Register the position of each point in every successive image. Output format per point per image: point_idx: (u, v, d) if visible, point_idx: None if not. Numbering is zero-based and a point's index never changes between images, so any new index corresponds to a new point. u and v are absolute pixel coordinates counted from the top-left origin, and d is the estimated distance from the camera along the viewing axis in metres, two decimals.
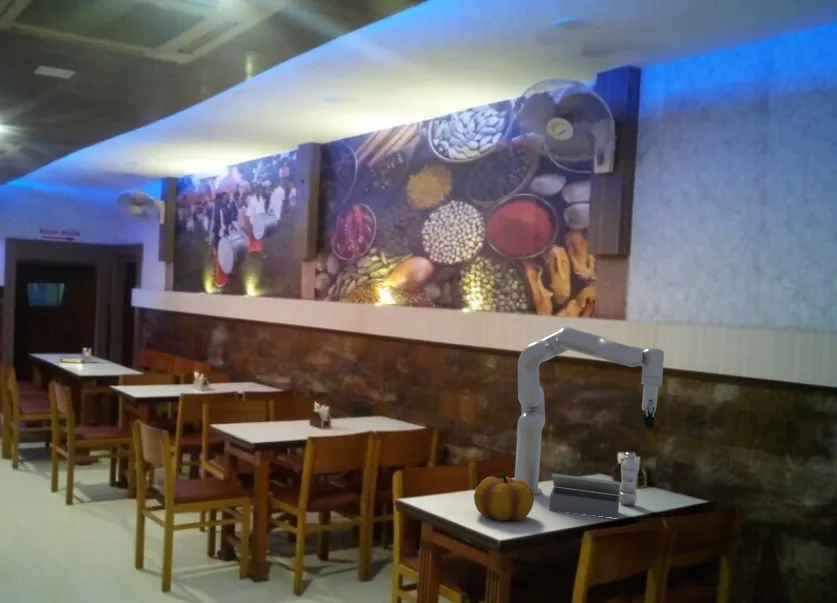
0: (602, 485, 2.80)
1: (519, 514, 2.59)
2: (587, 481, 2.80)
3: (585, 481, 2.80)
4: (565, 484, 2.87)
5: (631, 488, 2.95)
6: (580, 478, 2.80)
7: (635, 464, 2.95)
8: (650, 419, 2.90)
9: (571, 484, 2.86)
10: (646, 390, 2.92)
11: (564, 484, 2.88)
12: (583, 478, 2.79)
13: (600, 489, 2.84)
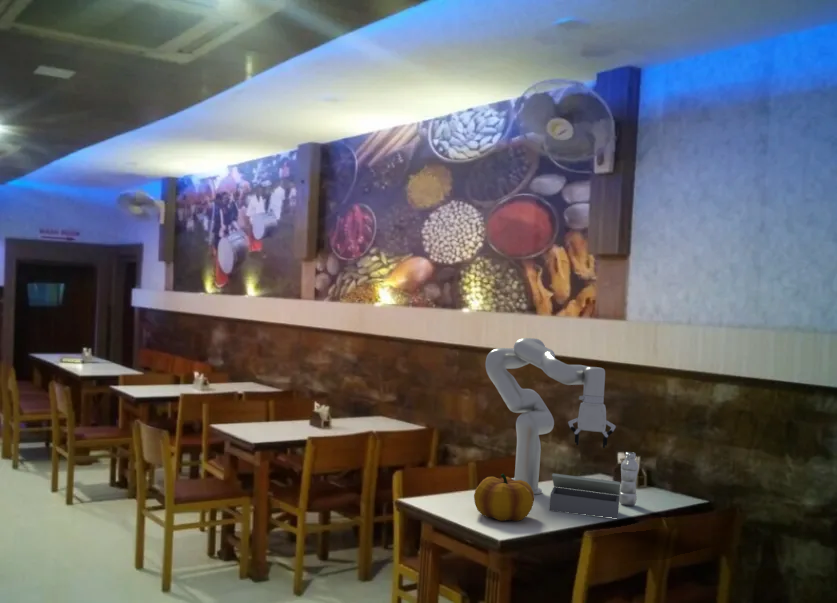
0: (602, 485, 2.80)
1: (519, 514, 2.59)
2: (587, 481, 2.80)
3: (585, 481, 2.80)
4: (565, 484, 2.87)
5: (631, 488, 2.95)
6: (580, 478, 2.80)
7: (635, 464, 2.95)
8: None
9: (571, 484, 2.86)
10: (605, 410, 2.87)
11: (564, 484, 2.88)
12: (583, 478, 2.79)
13: (600, 489, 2.84)
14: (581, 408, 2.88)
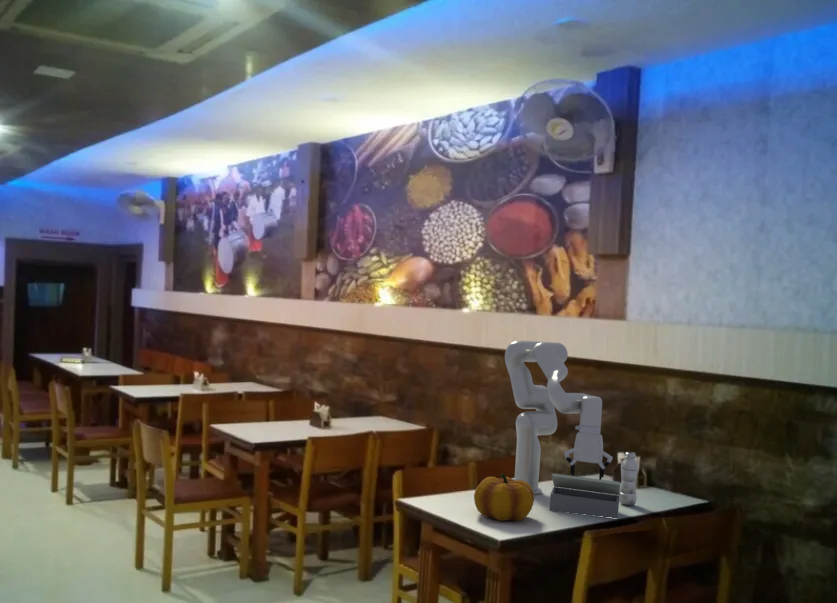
0: (602, 485, 2.80)
1: (519, 514, 2.59)
2: (587, 481, 2.80)
3: (585, 481, 2.80)
4: (565, 484, 2.87)
5: (631, 488, 2.95)
6: (580, 478, 2.80)
7: (635, 464, 2.95)
8: (603, 470, 2.80)
9: (571, 484, 2.86)
10: (601, 441, 2.78)
11: (564, 484, 2.88)
12: (583, 478, 2.79)
13: (600, 489, 2.84)
14: (577, 438, 2.80)
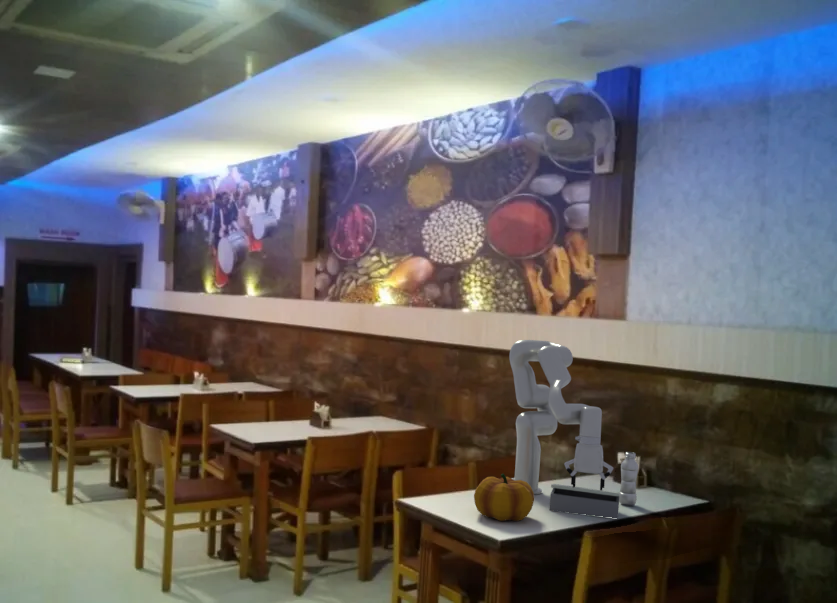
0: None
1: (519, 514, 2.59)
2: None
3: (584, 491, 2.78)
4: None
5: (631, 488, 2.95)
6: (579, 490, 2.78)
7: (635, 464, 2.95)
8: (604, 481, 2.79)
9: None
10: (602, 452, 2.78)
11: None
12: (582, 490, 2.78)
13: None
14: (577, 449, 2.80)
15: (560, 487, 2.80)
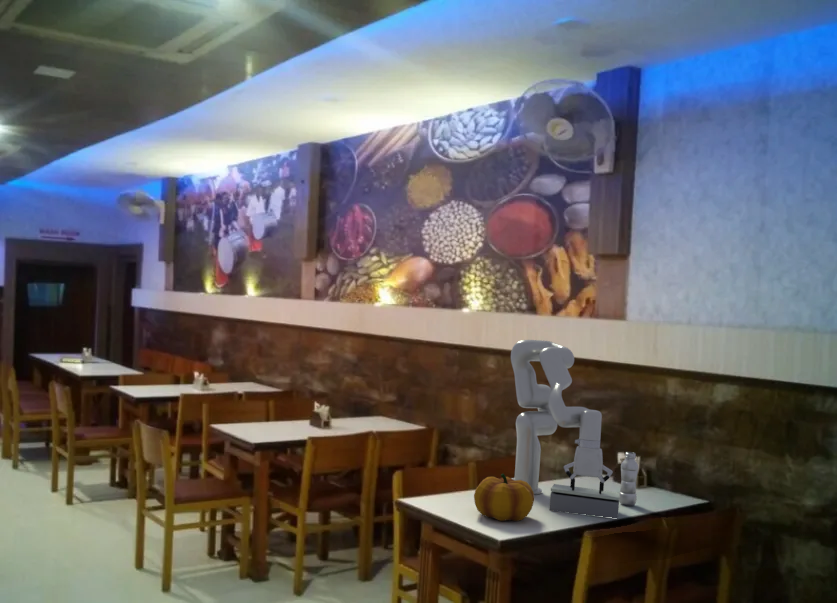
0: None
1: (519, 514, 2.59)
2: (586, 495, 2.78)
3: None
4: None
5: (631, 488, 2.95)
6: (579, 493, 2.78)
7: (635, 464, 2.95)
8: (603, 484, 2.79)
9: None
10: (601, 455, 2.78)
11: None
12: (582, 493, 2.78)
13: None
14: (577, 452, 2.80)
15: (560, 491, 2.80)
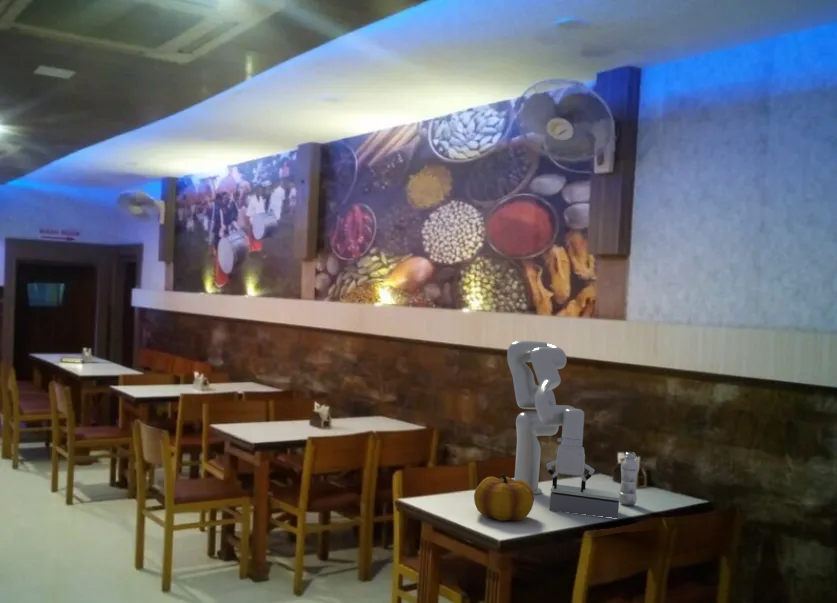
0: None
1: (519, 514, 2.59)
2: (586, 495, 2.78)
3: (584, 495, 2.78)
4: None
5: (631, 488, 2.95)
6: (579, 494, 2.78)
7: (635, 464, 2.95)
8: (585, 483, 2.80)
9: None
10: (583, 454, 2.79)
11: None
12: (582, 494, 2.78)
13: None
14: (559, 451, 2.81)
15: (560, 491, 2.80)
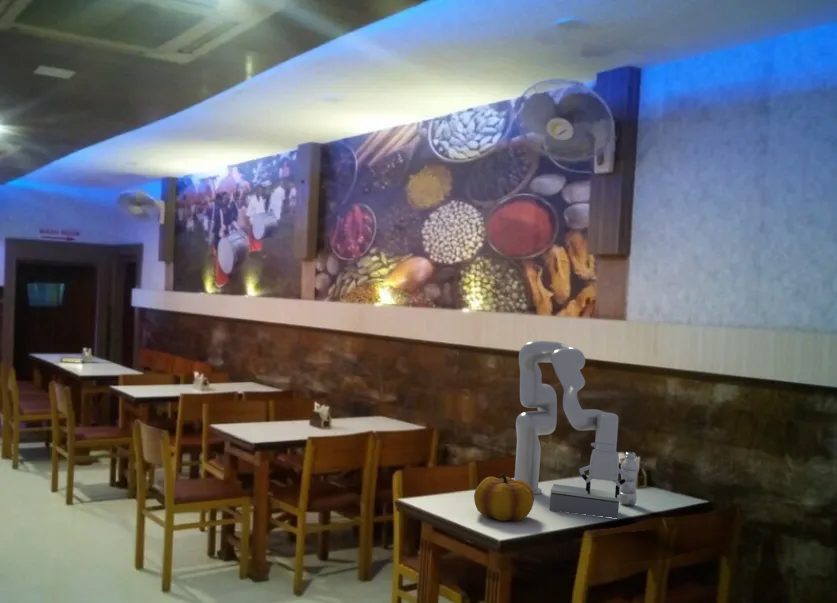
0: None
1: (519, 514, 2.59)
2: None
3: None
4: None
5: (631, 488, 2.95)
6: (579, 495, 2.78)
7: (635, 464, 2.95)
8: (619, 488, 2.77)
9: None
10: (617, 459, 2.76)
11: None
12: (582, 495, 2.78)
13: None
14: (593, 456, 2.77)
15: (560, 492, 2.80)
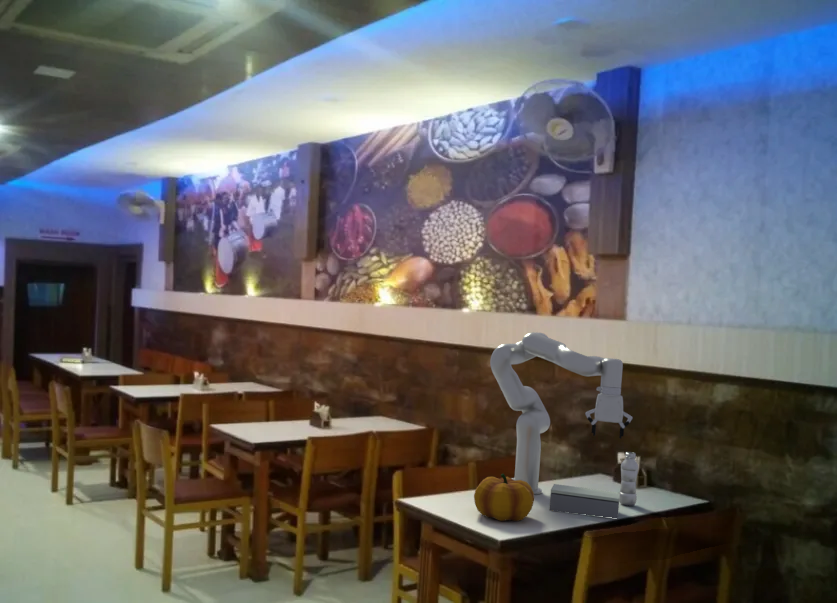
0: None
1: (519, 514, 2.59)
2: None
3: None
4: None
5: (631, 488, 2.95)
6: (579, 495, 2.78)
7: (635, 464, 2.95)
8: (623, 430, 2.91)
9: None
10: (622, 402, 2.89)
11: None
12: (582, 495, 2.78)
13: None
14: (598, 399, 2.91)
15: (560, 492, 2.80)
